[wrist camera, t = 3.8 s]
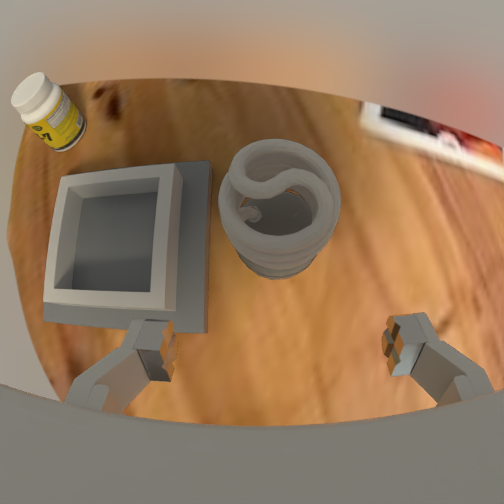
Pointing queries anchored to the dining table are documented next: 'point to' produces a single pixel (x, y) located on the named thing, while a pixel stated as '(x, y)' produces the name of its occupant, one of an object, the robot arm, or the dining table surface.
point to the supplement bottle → (49, 112)
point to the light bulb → (279, 206)
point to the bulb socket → (131, 247)
